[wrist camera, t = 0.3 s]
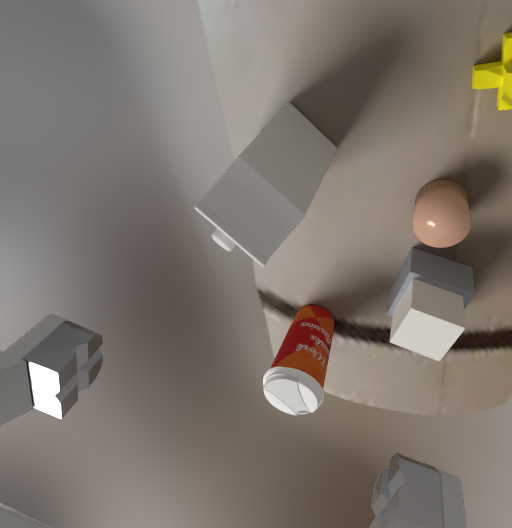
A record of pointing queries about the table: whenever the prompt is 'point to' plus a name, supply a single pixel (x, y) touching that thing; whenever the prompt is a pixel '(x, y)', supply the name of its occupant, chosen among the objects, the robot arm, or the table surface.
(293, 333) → the paper cup
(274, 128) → the milk carton
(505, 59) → the yellow crystal cluster
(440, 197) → the peach rounded cylinder
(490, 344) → the table surface
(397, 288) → the tower base block
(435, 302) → the tower top block
